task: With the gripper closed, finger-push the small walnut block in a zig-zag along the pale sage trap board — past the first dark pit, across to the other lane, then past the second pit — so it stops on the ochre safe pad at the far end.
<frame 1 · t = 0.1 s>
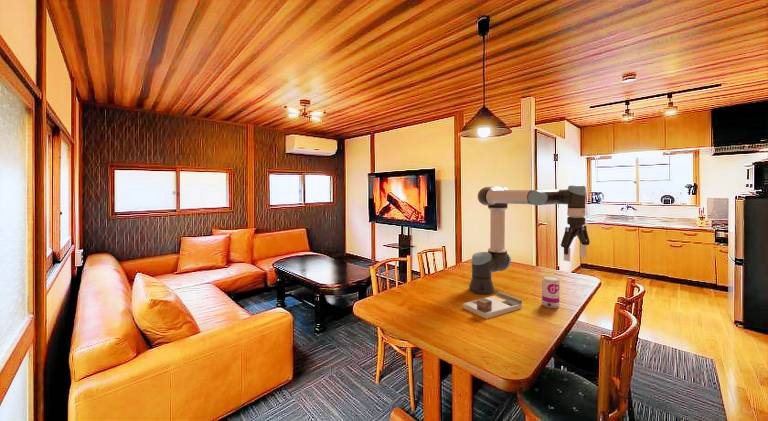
hand: (575, 259, 151), 28 cm above the table, fingers open, 13 cm apart
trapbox: (492, 308, 162), on the table
soda can: (550, 306, 164), on the table
block: (484, 309, 154), point 2 cm above the table, touching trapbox
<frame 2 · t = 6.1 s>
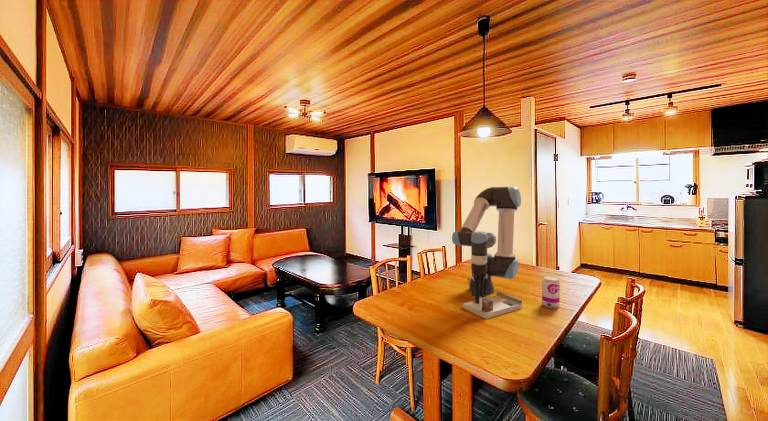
hand: (479, 309, 152), 4 cm above the table, fingers closed
block: (485, 309, 154), point 3 cm above the table, touching gripper
everything else where it was.
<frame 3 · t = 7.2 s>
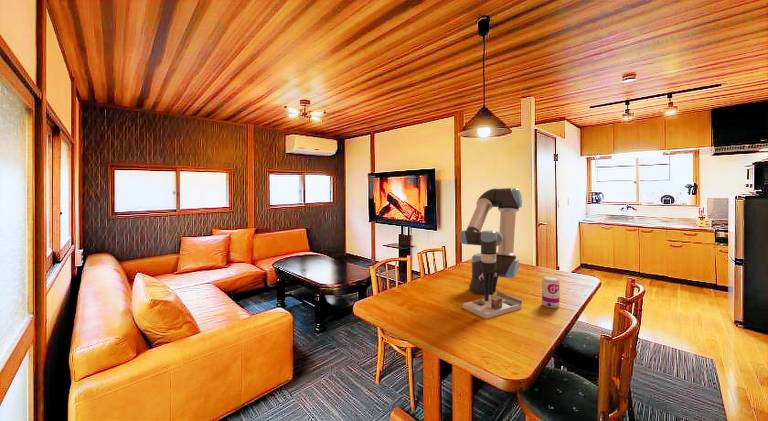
hand: (488, 306, 155), 4 cm above the table, fingers closed
block: (494, 307, 157), point 2 cm above the table, touching gripper, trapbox
everything else where it was.
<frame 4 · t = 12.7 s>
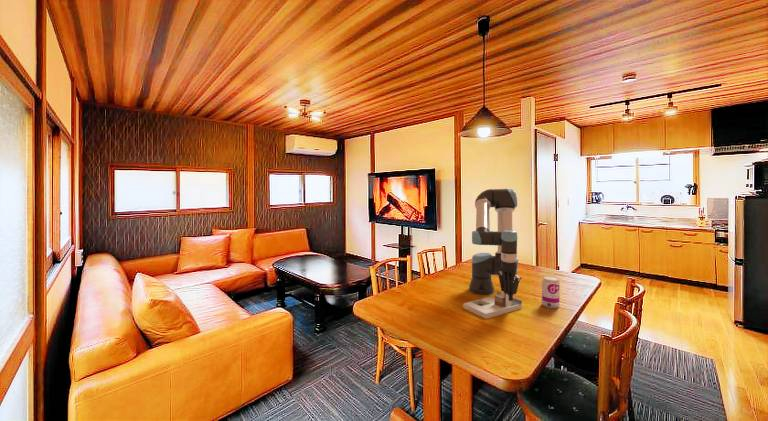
hand: (508, 306, 155), 3 cm above the table, fingers closed
block: (501, 305, 160), point 2 cm above the table, touching gripper, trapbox
everything else where it was.
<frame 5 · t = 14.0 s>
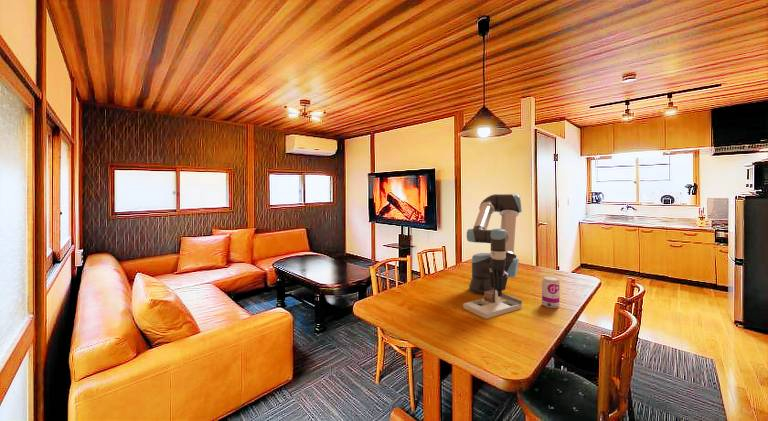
hand: (497, 301, 162), 4 cm above the table, fingers closed
block: (491, 300, 166), point 2 cm above the table, touching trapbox
everything else where it was.
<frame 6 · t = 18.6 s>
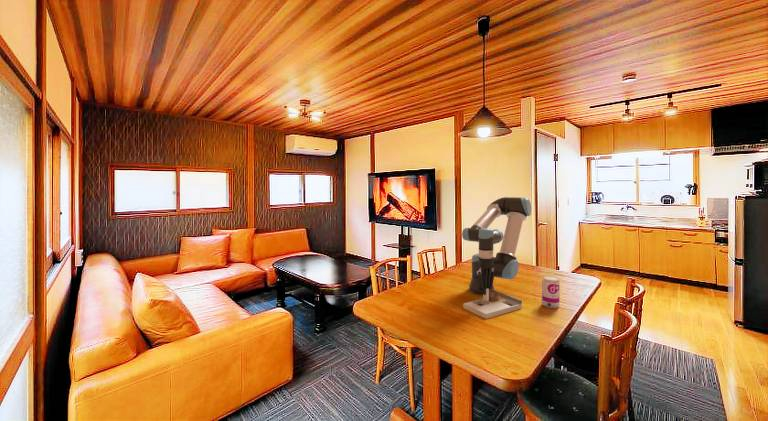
hand: (485, 300, 164), 3 cm above the table, fingers closed
block: (491, 300, 167), point 2 cm above the table, touching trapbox
everything else where it was.
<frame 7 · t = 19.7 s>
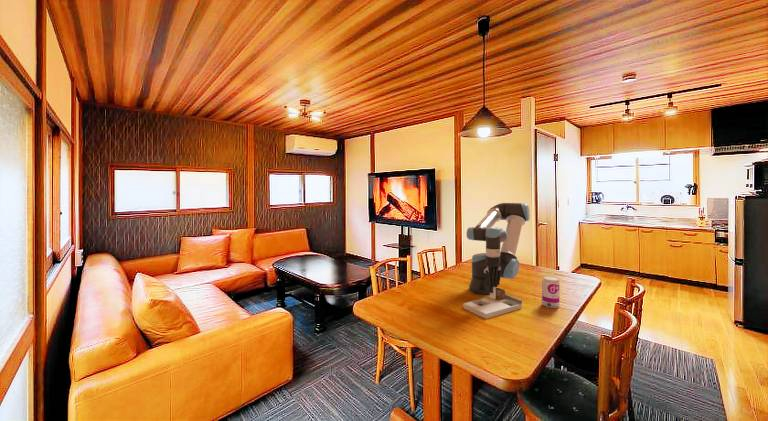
hand: (492, 298, 167), 4 cm above the table, fingers closed
block: (498, 298, 169), point 2 cm above the table, touching gripper, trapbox
everything else where it was.
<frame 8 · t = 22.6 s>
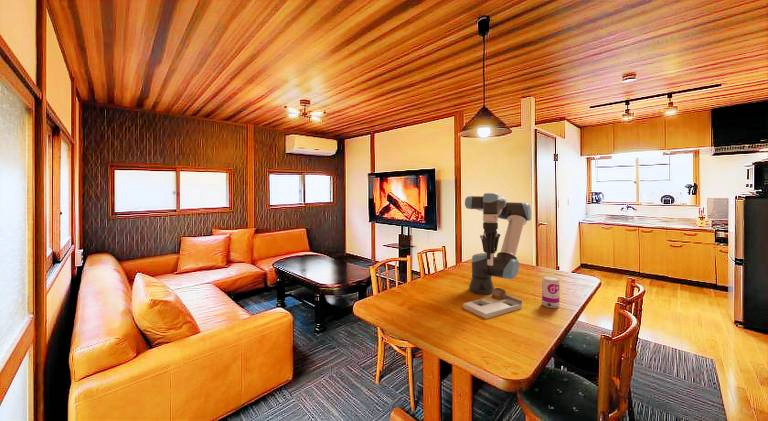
hand: (490, 265, 164), 22 cm above the table, fingers closed
block: (498, 298, 169), point 2 cm above the table, touching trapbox
everything else where it was.
at the end: block inside the target area on the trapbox (0.3 cm from its centre), point 2.5 cm above the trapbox's base; block tilted 0° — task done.
